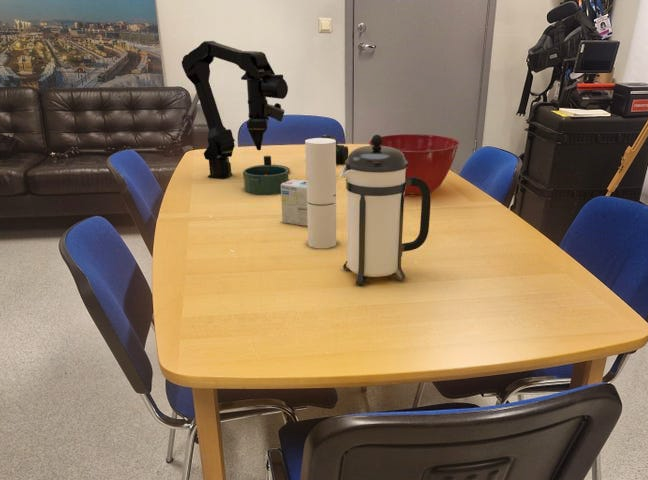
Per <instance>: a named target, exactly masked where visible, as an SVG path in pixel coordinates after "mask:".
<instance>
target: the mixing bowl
mask: <svg viewBox="0 0 648 480" xmlns="http://www.w3.org/2000/svg"><path fill="white" fill-rule="evenodd" d="M381 137H382V140H383V141H382V144H381V145H380V146H387V147H392V148H396V149H398V150H400V151H401V152H402V153H403V154H404V156H405V159H406V160H407V162H408V166H407V168H406V171H405V178H410V177H416V178H419V179H422V180H423V181H425V182H426V184H427V185H428V187H429V190H430V194H432V193H433V192H434V191H436V190H437V189H438V188H439V187H441V185H443V182H444V181H445V179H446V177H447V176H448V174H449V171H450V169H451V167H452V165H453V162H454V159H455V156H456V154H457V151H458V147H459V145H460V141H459V140H457V139H456V138H453V137H449V136H444V135H435V134H422V133H421V134H419V133H408V134H407V133H406V134H405V133H403V134H391V135H390V134H389V135H381ZM371 140H372V139H370V140H369V142H368V145H369V146H374V145H373V144H372V141H371ZM404 196H411V197H412V196H413V197H414V196H422V194H421V191H420V189H419V188H418V187H417V186H406V189H405V191H404Z"/></svg>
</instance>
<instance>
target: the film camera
mask: <svg viewBox="0 0 648 480" xmlns="http://www.w3.org/2000/svg"><path fill="white" fill-rule="evenodd" d="M320 138H329V139H334V140H336V165H339V164H341V165H342V164H343V165H345V161H346V160H347V159H348V156H349V154H350V152H349V147H348V146H345V145H344V144H338V140H337V138H336V137H335V136H334V135H329V134H322V135H321V137H320Z"/></svg>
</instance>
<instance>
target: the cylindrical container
mask: <svg viewBox="0 0 648 480" xmlns="http://www.w3.org/2000/svg"><path fill="white" fill-rule="evenodd" d="M336 140H337V139H336ZM336 140H334V139H329V138H321V137H313V138H308V139H305V140H304V145H305V147H304V148H305V151H304V152H305V181H306V185H307V219H308V226H307V245H308V246H309V247H310V248H313V249H330V248H333V247H335V246H336V245H337V164H336Z"/></svg>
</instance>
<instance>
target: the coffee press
mask: <svg viewBox="0 0 648 480" xmlns="http://www.w3.org/2000/svg"><path fill="white" fill-rule="evenodd" d="M370 140H371V141H372V144H373V145H374V146H370V145H366V146H360V147H357V148H355V149H353V150H352V151H350V152H349V153H348V159H347V160H346V161H345V164H344V166H343V168H342V170H341V172H340V175H339V178H340V179H345V189H346V196H347V197H346V261H345V263H344V264H343V265H342V269H343V270H344V271H349V270H350V271H351V272H352V273H354V274H356V275H357V277H356V280H355V284H356V285H358V286H362V287H363V286H364V285H365V282H366V280H367V278H381V277H382V278H383V277H387V276H393V277H394V278H395V279H396V280H397V281H398V282H402V281H403V280H405V279H406V274H405V272H404V270H403V268H402V257H403V253H404V252H409V251H414V250H416V249H418V248H421V247H422V246H423V245H424V243H425V242H426V240H427V238H428V235H429V229H430V221H431V220H430V219H431V217H430V216H431V205H432V203H431V201H432V200H431V199H432V197H431V193H430V190H429V187H428V185H427V184H426V182H425V181H423V180H422V179H419V178H416V177H410V178H405V171H406V168H407V166H408V162H407V160H406V159H405V156H404V154H403V153H402V152H401V151H400V150H398V149H396V148H392V147H387V146H380V145H381V144H382V141H383V140H382V135H380V134H375V135H373V136H372V137H371V139H370ZM406 186H417V187H418V188H419V189H420V191H421V194H422V195H421V208H420V221H419V222H420V223H419V231H418V232H419V233H418V235H417V237H416V238H415V239H414V240H413V241H409V242H403V232H404V231H403V230H404V211H405V209H404V208H405V195H404V191H405V189H406ZM397 272H399V274H400V275H399V274H398V273H397Z"/></svg>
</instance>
